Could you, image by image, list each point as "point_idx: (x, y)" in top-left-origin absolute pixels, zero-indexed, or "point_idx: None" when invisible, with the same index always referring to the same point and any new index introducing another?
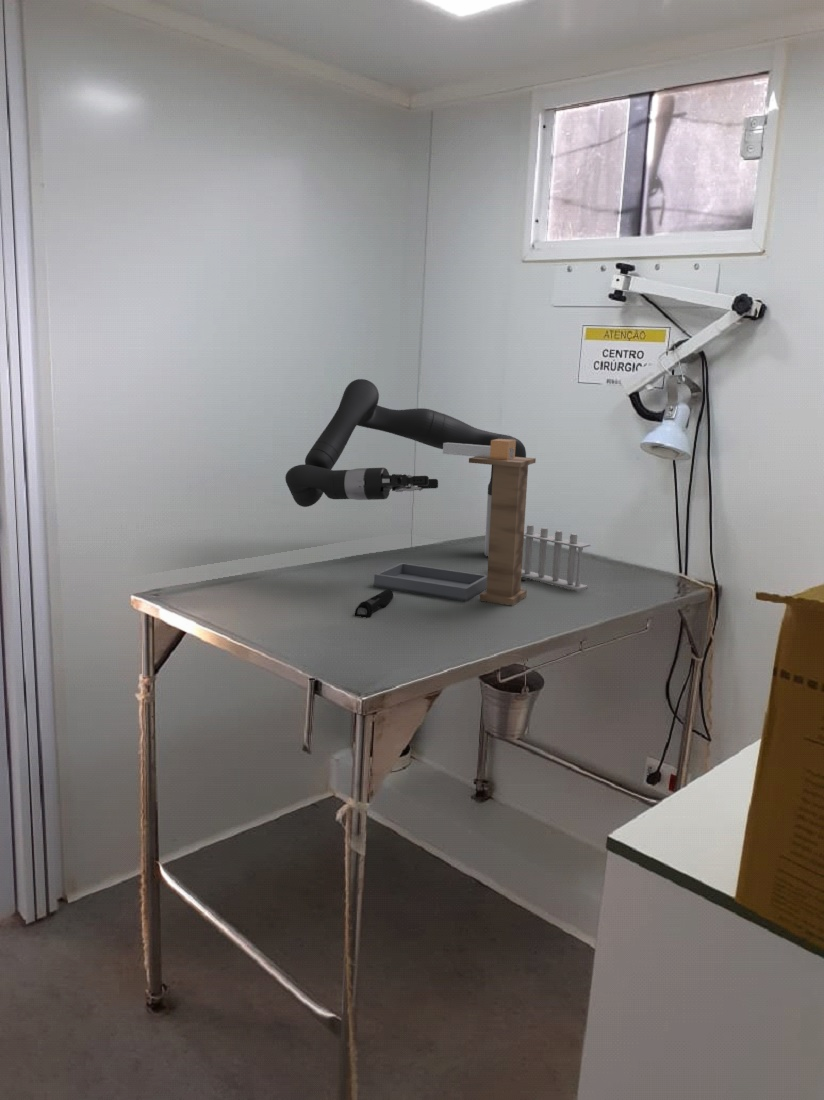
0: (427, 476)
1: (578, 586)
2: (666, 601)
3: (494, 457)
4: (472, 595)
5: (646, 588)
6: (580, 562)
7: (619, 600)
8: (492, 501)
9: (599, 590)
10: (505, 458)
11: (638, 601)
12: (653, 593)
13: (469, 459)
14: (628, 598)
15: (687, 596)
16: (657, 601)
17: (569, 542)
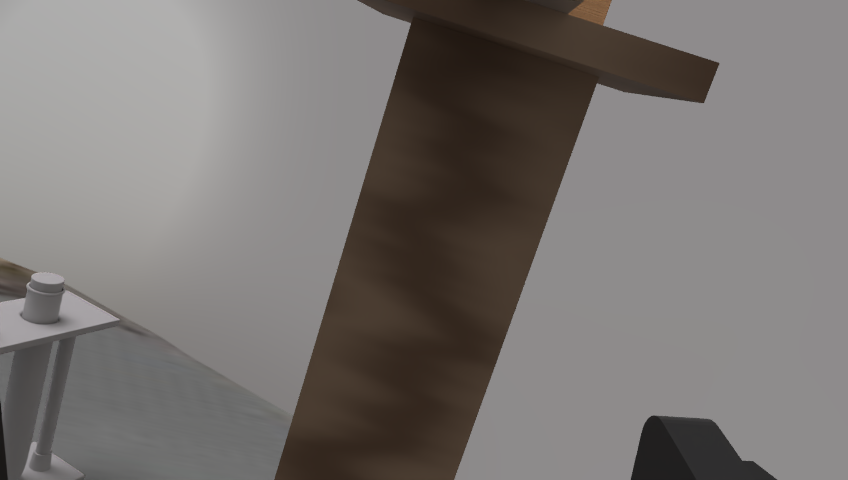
0: (698, 421)
1: (50, 465)
2: (175, 351)
3: None
4: None
5: None
6: (66, 376)
7: (190, 419)
8: (509, 321)
9: (63, 430)
10: None
11: (190, 391)
12: (90, 347)
13: (713, 74)
14: (160, 399)
15: (114, 312)
16: (180, 363)
17: (27, 320)
